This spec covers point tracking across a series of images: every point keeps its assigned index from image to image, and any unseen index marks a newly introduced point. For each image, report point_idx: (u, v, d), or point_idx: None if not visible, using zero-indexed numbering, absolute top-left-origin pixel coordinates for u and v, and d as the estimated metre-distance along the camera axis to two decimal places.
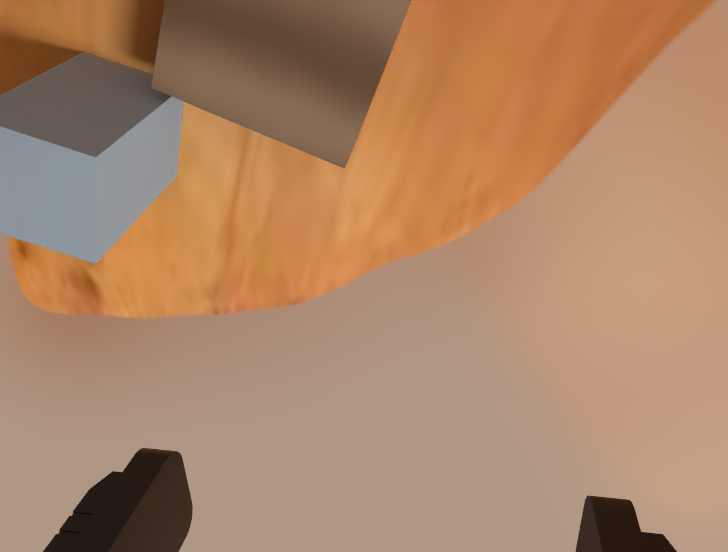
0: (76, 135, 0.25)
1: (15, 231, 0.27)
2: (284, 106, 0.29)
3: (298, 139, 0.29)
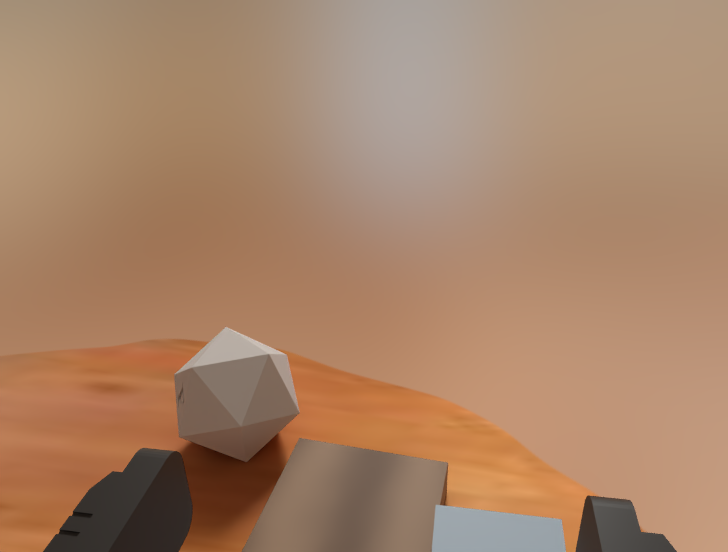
0: None
1: None
2: (409, 502, 0.36)
3: (434, 492, 0.37)
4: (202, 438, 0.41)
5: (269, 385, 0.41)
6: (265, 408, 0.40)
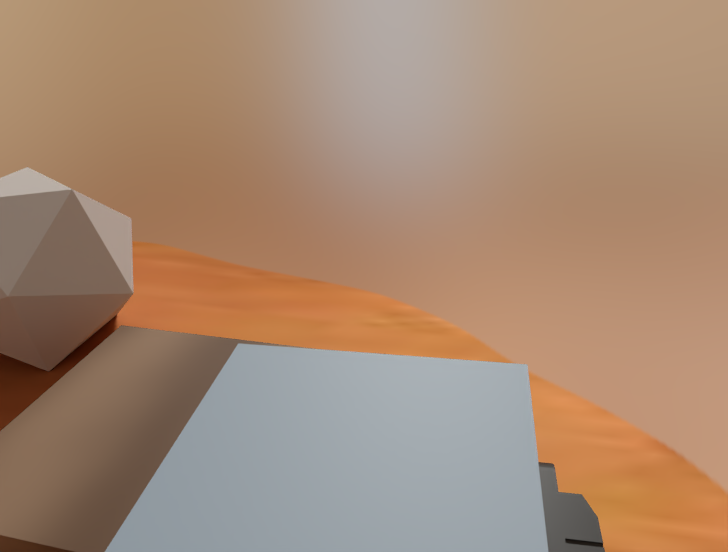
0: None
1: (514, 530, 0.08)
2: None
3: None
4: None
5: (72, 240, 0.25)
6: (62, 274, 0.25)
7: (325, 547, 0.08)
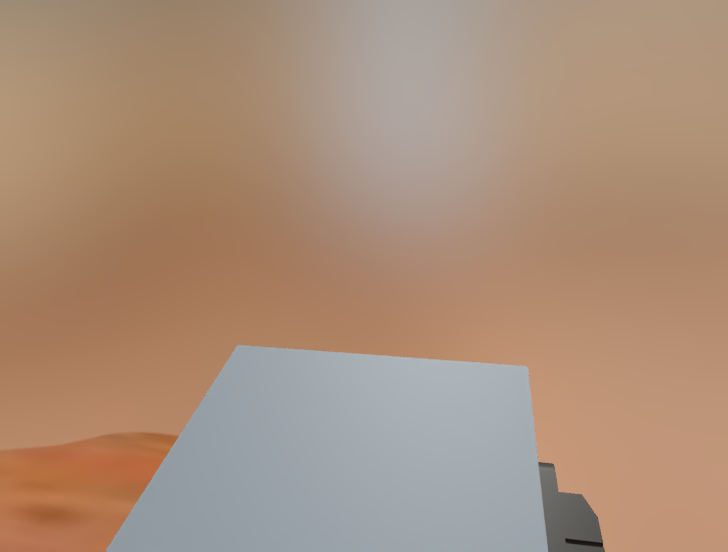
0: None
1: (514, 534, 0.08)
2: None
3: None
4: None
5: None
6: None
7: (324, 550, 0.08)
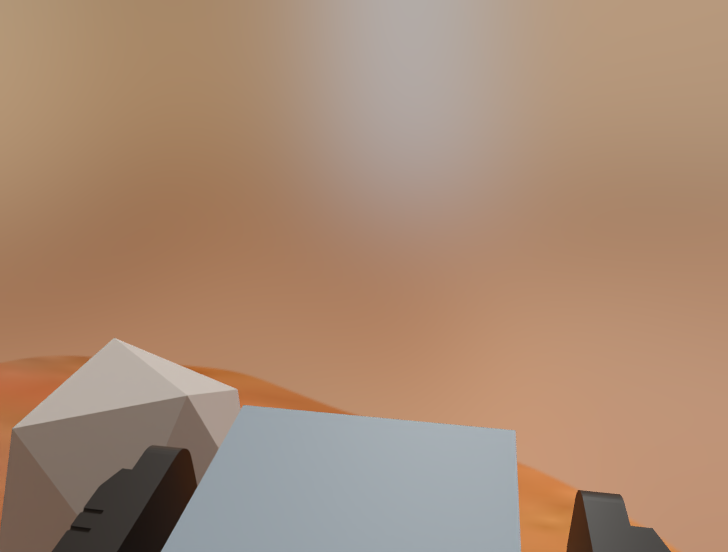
0: None
1: None
2: None
3: None
4: None
5: None
6: None
7: None
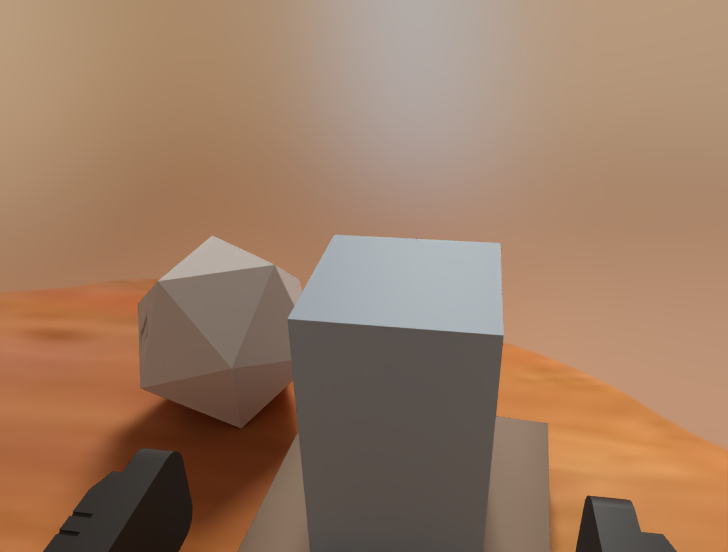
0: None
1: (487, 298, 0.17)
2: (499, 482, 0.22)
3: (535, 466, 0.23)
4: (175, 390, 0.27)
5: (275, 311, 0.27)
6: (269, 344, 0.27)
7: (398, 304, 0.16)
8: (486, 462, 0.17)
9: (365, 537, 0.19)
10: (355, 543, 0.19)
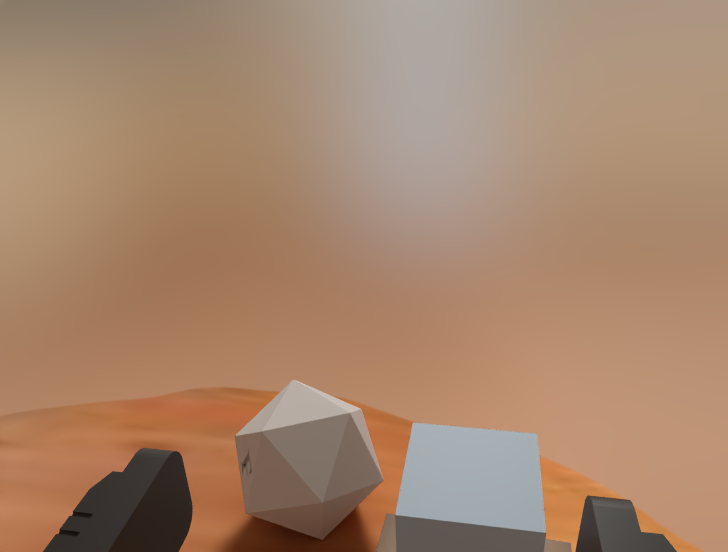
0: None
1: (532, 495, 0.24)
2: None
3: None
4: (273, 515, 0.34)
5: (351, 450, 0.35)
6: (348, 478, 0.34)
7: (470, 500, 0.24)
8: None
9: None
10: None
